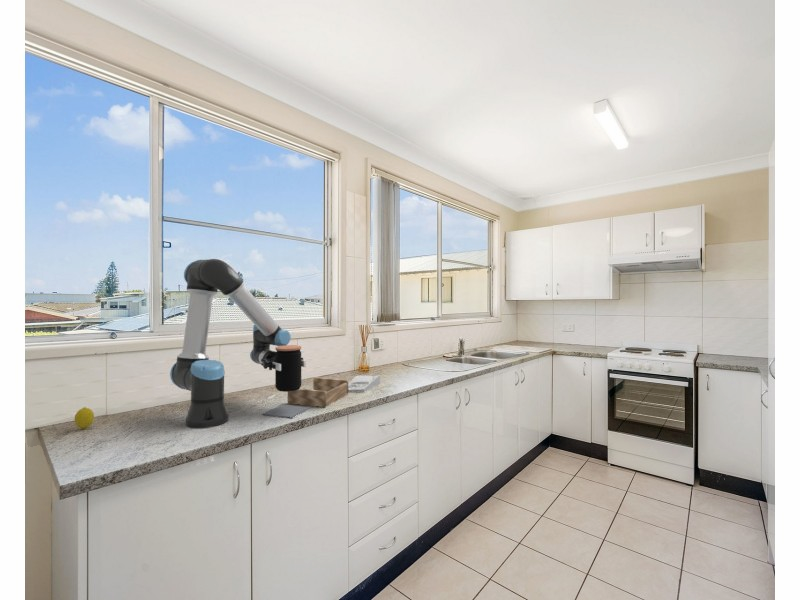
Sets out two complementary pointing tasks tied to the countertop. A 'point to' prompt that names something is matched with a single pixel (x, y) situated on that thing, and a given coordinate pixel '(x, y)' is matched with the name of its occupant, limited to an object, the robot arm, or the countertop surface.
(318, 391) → the wooden tray
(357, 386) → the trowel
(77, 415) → the lemon
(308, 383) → the countertop surface
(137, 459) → the countertop surface
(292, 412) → the rubber mat
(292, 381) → the coffee jar
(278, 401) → the countertop surface
